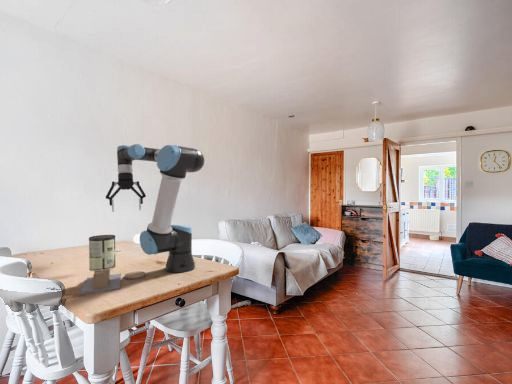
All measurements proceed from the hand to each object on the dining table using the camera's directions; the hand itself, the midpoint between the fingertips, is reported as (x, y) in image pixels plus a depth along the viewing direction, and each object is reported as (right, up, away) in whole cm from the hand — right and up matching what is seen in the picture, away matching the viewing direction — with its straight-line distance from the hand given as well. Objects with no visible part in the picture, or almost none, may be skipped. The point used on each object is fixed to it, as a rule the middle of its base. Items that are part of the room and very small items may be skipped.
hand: (126, 210), depth 149 cm
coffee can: (+4, -24, -31) cm, 39 cm away
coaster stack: (+14, -31, -20) cm, 39 cm away
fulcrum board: (+4, -30, -31) cm, 43 cm away
